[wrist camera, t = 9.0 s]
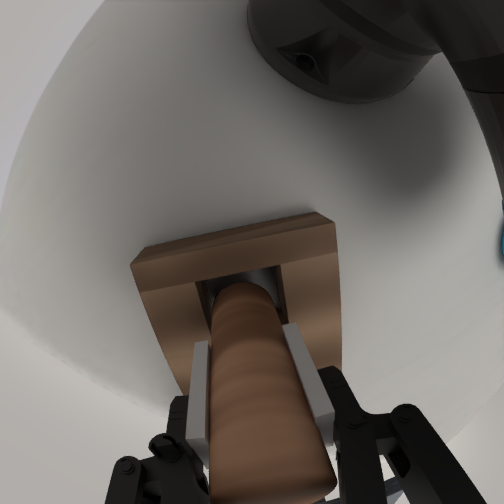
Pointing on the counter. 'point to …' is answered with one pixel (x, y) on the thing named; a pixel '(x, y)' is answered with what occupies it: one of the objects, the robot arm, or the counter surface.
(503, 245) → the perfume bottle
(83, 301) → the counter surface
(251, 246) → the socket board
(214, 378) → the peg
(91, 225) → the counter surface
